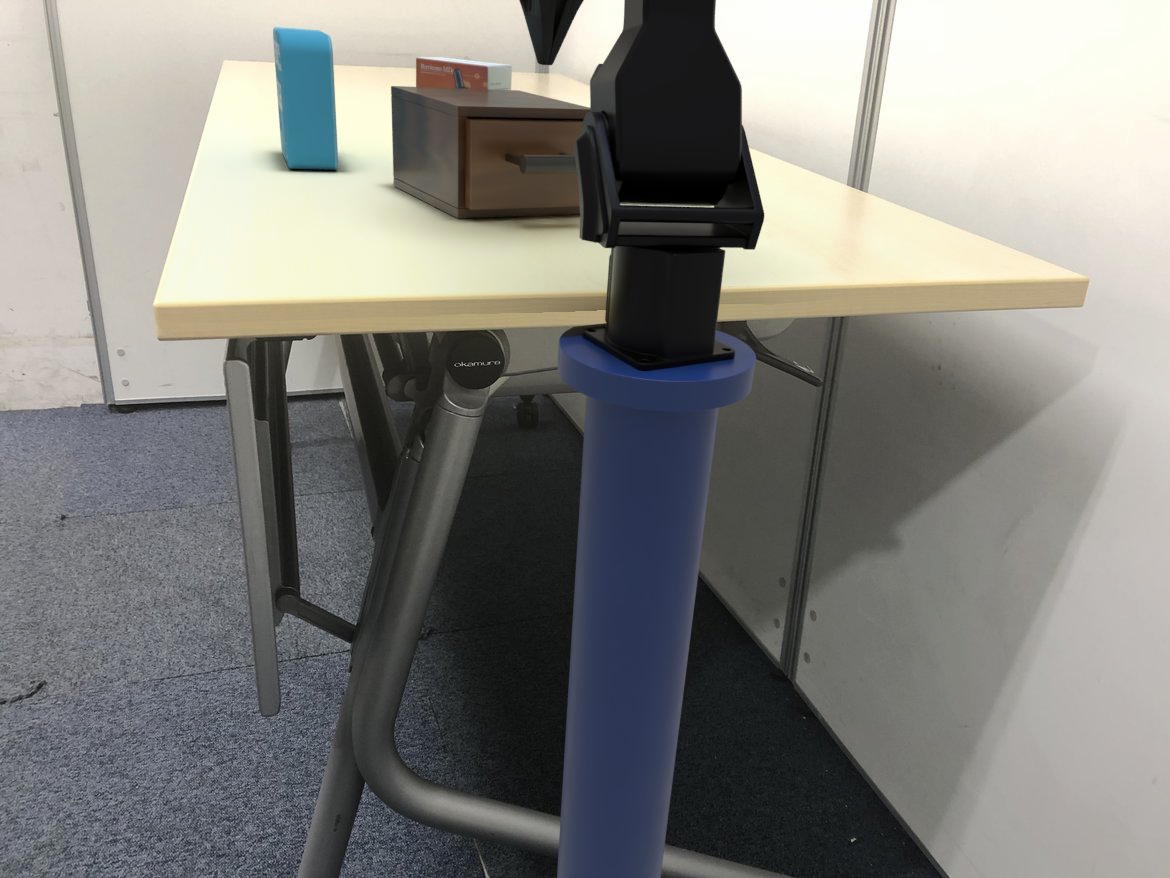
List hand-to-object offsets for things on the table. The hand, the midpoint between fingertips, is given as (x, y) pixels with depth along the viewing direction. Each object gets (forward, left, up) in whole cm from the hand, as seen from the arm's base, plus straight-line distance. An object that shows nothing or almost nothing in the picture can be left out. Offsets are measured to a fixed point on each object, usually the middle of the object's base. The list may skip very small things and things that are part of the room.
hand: (545, 64), depth 76 cm
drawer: (+6, 0, -11) cm, 12 cm away
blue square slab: (+30, +10, -12) cm, 34 cm away
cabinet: (+9, 0, -12) cm, 15 cm away
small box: (+24, -4, -12) cm, 28 cm away
